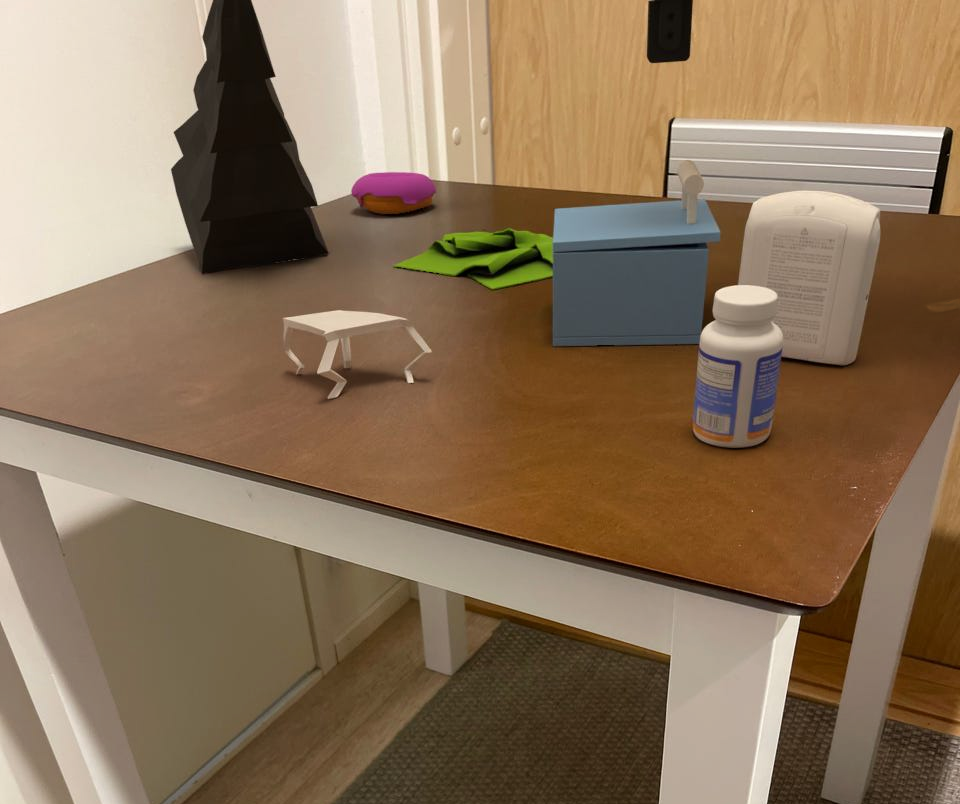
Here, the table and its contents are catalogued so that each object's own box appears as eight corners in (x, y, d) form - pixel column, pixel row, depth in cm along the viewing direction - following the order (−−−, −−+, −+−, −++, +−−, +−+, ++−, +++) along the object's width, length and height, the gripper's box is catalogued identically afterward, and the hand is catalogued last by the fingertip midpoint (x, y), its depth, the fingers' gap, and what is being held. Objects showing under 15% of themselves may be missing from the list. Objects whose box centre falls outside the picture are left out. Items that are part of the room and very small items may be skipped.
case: (687, 301, 92) (694, 214, 87) (700, 344, 83) (709, 249, 78) (554, 304, 93) (554, 218, 88) (552, 346, 84) (552, 253, 79)
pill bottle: (758, 416, 70) (777, 278, 65) (779, 448, 66) (801, 304, 60) (684, 420, 70) (695, 283, 65) (700, 452, 66) (714, 308, 60)
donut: (449, 206, 128) (447, 168, 126) (395, 222, 122) (392, 183, 119) (394, 197, 134) (391, 161, 131) (340, 213, 128) (335, 175, 125)
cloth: (629, 267, 102) (630, 243, 100) (433, 300, 96) (431, 274, 94) (547, 226, 117) (547, 204, 116) (374, 252, 111) (372, 229, 110)
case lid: (704, 208, 87) (707, 151, 84) (720, 242, 78) (724, 180, 75) (555, 217, 88) (553, 162, 86) (552, 252, 79) (550, 191, 76)
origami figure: (284, 407, 76) (273, 345, 73) (287, 368, 82) (278, 310, 79) (436, 393, 76) (432, 331, 74) (428, 356, 83) (423, 298, 80)
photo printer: (862, 353, 79) (893, 190, 72) (850, 371, 76) (881, 203, 69) (739, 337, 84) (757, 182, 76) (723, 353, 81) (740, 193, 73)
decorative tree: (203, 298, 111) (163, 10, 78) (173, 197, 115) (123, -116, 82) (328, 279, 115) (339, -3, 82) (295, 182, 119) (293, -123, 86)
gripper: (755, -282, 58) (729, 69, 69) (724, -247, 70) (706, 48, 81) (629, -270, 59) (623, 76, 70) (620, -236, 71) (615, 54, 82)
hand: (667, 60), depth 75 cm, fingers closed
